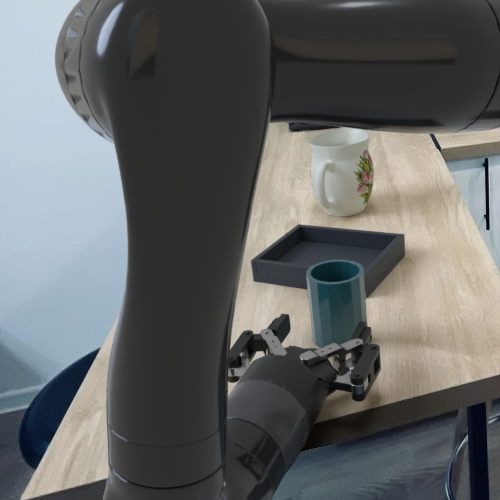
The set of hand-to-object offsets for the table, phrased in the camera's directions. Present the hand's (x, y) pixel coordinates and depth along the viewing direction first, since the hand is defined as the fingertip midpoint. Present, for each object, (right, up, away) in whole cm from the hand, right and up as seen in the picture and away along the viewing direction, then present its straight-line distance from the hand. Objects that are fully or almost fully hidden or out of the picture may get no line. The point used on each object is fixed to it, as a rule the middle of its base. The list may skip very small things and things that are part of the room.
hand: (324, 325), depth 69 cm
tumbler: (+3, -4, +6) cm, 8 cm away
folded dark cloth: (+14, +43, +116) cm, 124 cm away
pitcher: (+9, +14, +48) cm, 51 cm away
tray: (+4, +5, +27) cm, 28 cm away
